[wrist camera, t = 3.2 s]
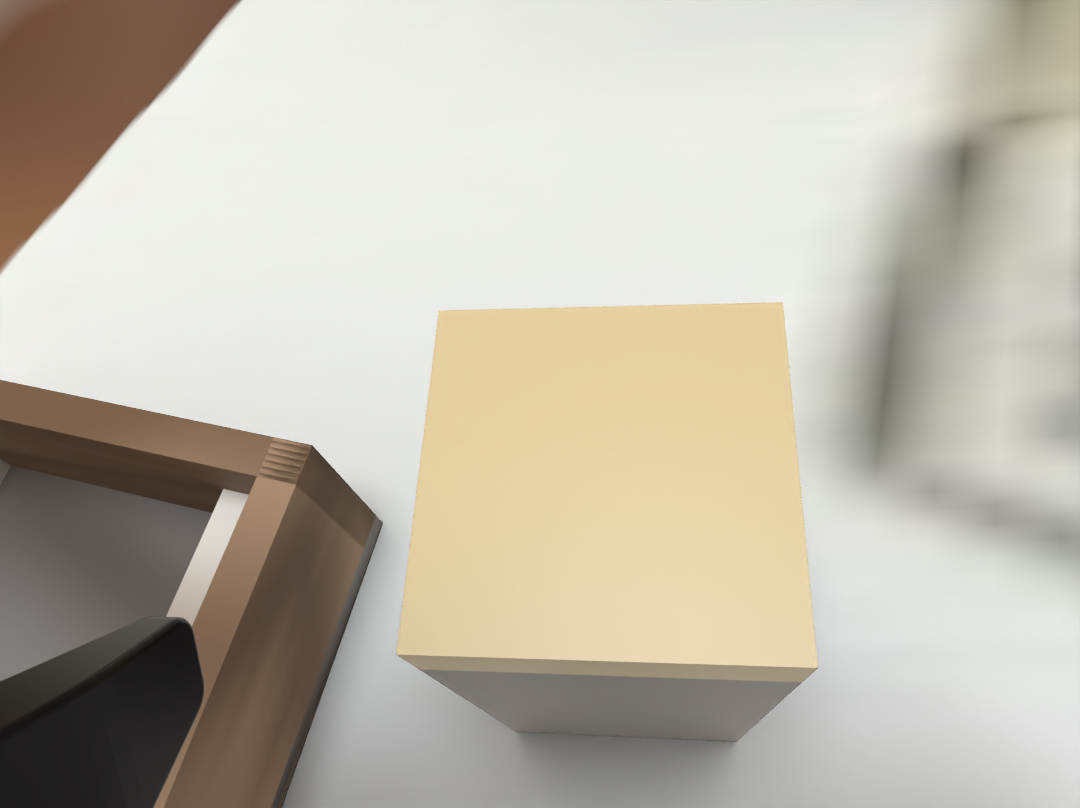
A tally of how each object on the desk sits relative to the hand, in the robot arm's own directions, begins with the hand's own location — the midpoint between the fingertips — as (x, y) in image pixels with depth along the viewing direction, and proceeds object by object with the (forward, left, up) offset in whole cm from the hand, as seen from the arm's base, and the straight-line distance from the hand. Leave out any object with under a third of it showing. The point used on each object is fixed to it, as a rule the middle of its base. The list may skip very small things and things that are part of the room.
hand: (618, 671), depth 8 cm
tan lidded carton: (+2, +1, -9) cm, 10 cm away
